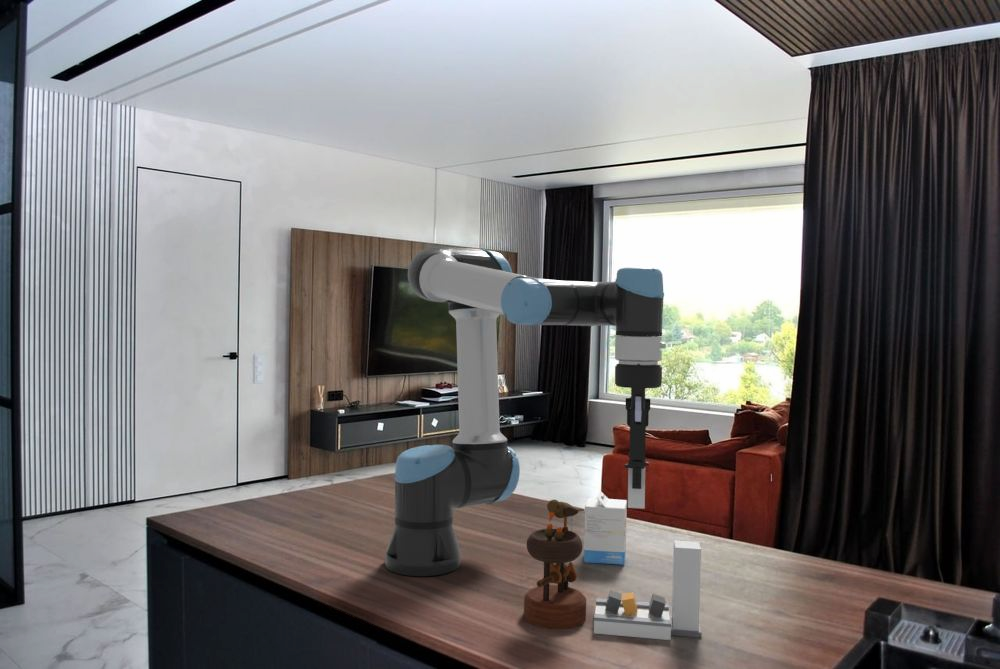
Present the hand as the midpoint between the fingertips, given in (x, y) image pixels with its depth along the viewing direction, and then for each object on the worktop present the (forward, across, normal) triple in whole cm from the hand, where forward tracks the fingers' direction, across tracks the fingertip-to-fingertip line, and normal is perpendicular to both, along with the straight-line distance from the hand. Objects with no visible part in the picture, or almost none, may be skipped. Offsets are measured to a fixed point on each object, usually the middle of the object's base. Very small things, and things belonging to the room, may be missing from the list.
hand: (636, 507), depth 125 cm
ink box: (+20, +35, +6) cm, 41 cm away
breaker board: (+20, 0, 0) cm, 20 cm away
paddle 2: (+18, 0, 0) cm, 18 cm away
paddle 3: (+18, 0, -3) cm, 18 cm away
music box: (+20, +1, +13) cm, 24 cm away
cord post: (+20, 0, -8) cm, 21 cm away
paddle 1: (+18, 0, +4) cm, 18 cm away
